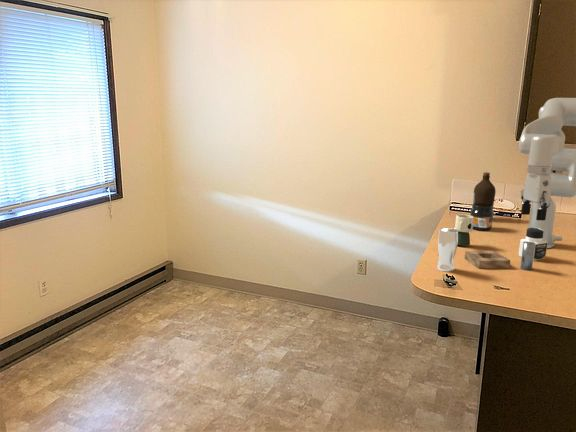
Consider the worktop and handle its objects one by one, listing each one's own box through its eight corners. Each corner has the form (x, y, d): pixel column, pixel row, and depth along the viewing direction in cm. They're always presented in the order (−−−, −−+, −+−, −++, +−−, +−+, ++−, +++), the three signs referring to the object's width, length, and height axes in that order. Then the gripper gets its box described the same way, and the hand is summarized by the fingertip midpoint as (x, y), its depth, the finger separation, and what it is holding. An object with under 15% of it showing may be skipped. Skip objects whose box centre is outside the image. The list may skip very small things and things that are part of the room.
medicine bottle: (533, 261, 195) (537, 231, 192) (518, 256, 201) (521, 227, 198) (545, 258, 198) (549, 229, 195) (529, 254, 204) (533, 225, 201)
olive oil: (495, 219, 264) (500, 172, 259) (488, 222, 256) (494, 174, 250) (474, 216, 271) (479, 170, 265) (468, 219, 263) (472, 172, 257)
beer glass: (452, 273, 179) (456, 233, 176) (433, 269, 183) (436, 230, 179) (457, 268, 185) (460, 229, 182) (438, 264, 189) (441, 226, 185)
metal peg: (528, 266, 188) (531, 241, 186) (534, 270, 184) (537, 244, 182) (518, 266, 188) (521, 241, 185) (524, 270, 184) (527, 244, 181)
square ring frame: (493, 258, 198) (494, 250, 197) (509, 267, 186) (510, 260, 186) (464, 258, 197) (465, 251, 196) (478, 268, 185) (479, 260, 184)
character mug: (466, 249, 209) (470, 219, 206) (449, 246, 212) (452, 217, 209) (473, 243, 217) (476, 215, 214) (457, 241, 221) (460, 212, 218)
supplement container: (482, 232, 237) (484, 207, 234) (464, 227, 246) (466, 203, 243) (496, 229, 242) (499, 205, 240) (478, 225, 251) (481, 201, 248)
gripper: (564, 173, 169) (557, 222, 173) (534, 167, 186) (529, 212, 190) (543, 173, 169) (536, 222, 172) (515, 167, 185) (510, 212, 189)
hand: (532, 217), depth 181 cm, fingers open, 9 cm apart
